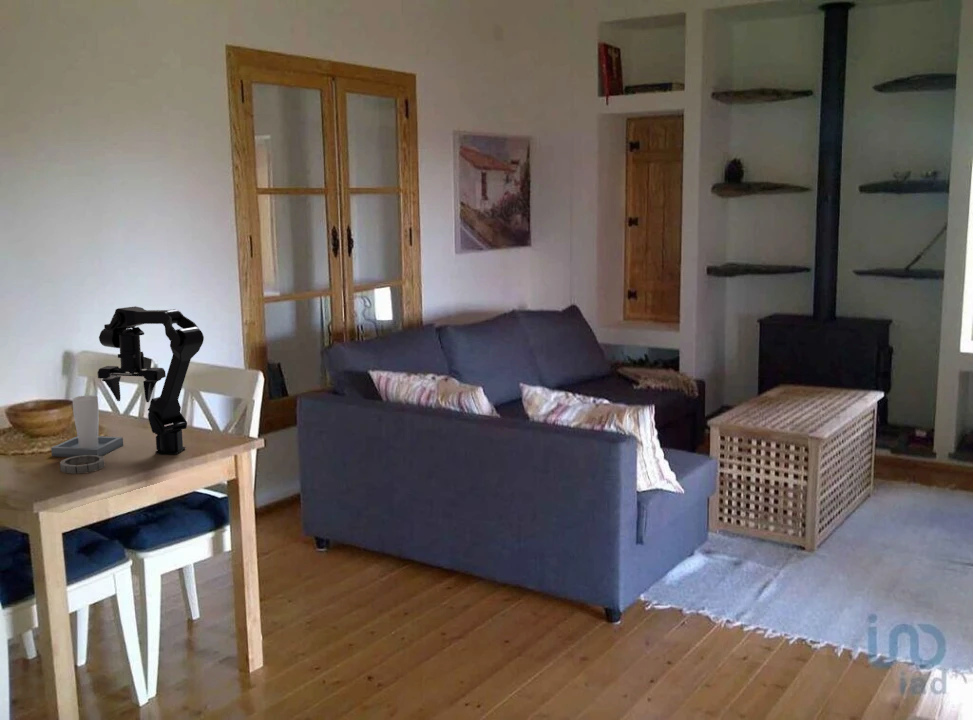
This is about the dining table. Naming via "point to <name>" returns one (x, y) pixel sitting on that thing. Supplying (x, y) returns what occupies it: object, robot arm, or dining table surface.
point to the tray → (72, 448)
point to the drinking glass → (86, 420)
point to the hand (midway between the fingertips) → (133, 401)
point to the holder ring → (71, 467)
